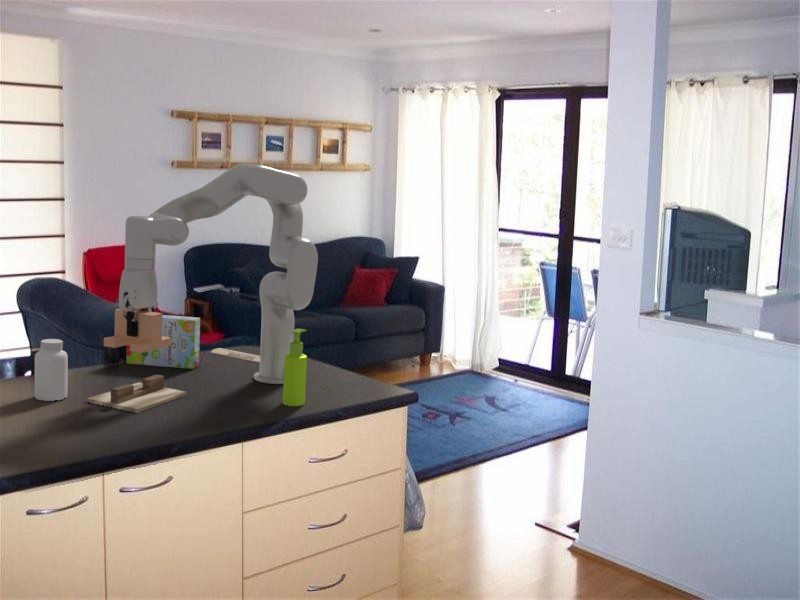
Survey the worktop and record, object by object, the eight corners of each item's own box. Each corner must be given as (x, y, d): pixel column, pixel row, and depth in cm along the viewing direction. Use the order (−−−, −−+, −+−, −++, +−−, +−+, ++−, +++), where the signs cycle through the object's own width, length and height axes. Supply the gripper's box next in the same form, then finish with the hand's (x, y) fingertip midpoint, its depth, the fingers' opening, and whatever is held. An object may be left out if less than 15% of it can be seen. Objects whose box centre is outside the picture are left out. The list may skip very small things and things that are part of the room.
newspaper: (281, 363, 291) (281, 358, 291) (267, 367, 285) (268, 362, 285) (222, 352, 302) (222, 346, 302) (208, 355, 296) (208, 350, 295)
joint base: (186, 395, 247) (186, 379, 246) (137, 413, 229) (137, 395, 228) (138, 385, 253) (139, 369, 252) (86, 402, 235) (87, 385, 234)
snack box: (199, 365, 280) (201, 317, 277) (193, 370, 274) (195, 320, 272) (132, 359, 282) (133, 311, 279) (125, 364, 276) (125, 314, 274)
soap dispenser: (310, 401, 249) (313, 328, 245) (298, 407, 242) (302, 333, 239) (290, 398, 250) (293, 326, 247) (278, 404, 244) (282, 330, 241)
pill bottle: (74, 396, 239) (74, 340, 237) (50, 403, 232) (50, 345, 229) (51, 391, 242) (51, 336, 240) (27, 398, 235) (27, 341, 233)
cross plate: (171, 345, 242) (172, 311, 240) (141, 353, 231) (142, 317, 229) (134, 338, 246) (135, 305, 245) (103, 345, 235) (104, 311, 234)
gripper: (149, 260, 244) (147, 328, 247) (105, 265, 229) (104, 337, 232) (172, 263, 241) (170, 331, 244) (129, 269, 226) (128, 342, 229)
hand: (138, 333), depth 238 cm, fingers closed on cross plate, 4 cm apart
